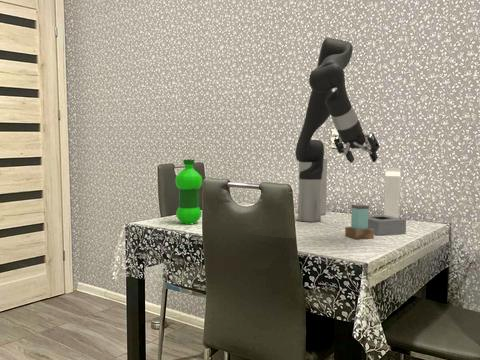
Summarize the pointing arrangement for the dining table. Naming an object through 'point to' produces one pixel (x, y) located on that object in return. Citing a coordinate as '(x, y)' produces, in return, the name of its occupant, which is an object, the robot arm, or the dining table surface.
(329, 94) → the robot arm
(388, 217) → the port
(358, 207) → the plug
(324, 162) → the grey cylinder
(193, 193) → the plastic bottle
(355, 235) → the brown wooden square frame
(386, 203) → the milk
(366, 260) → the dining table surface
